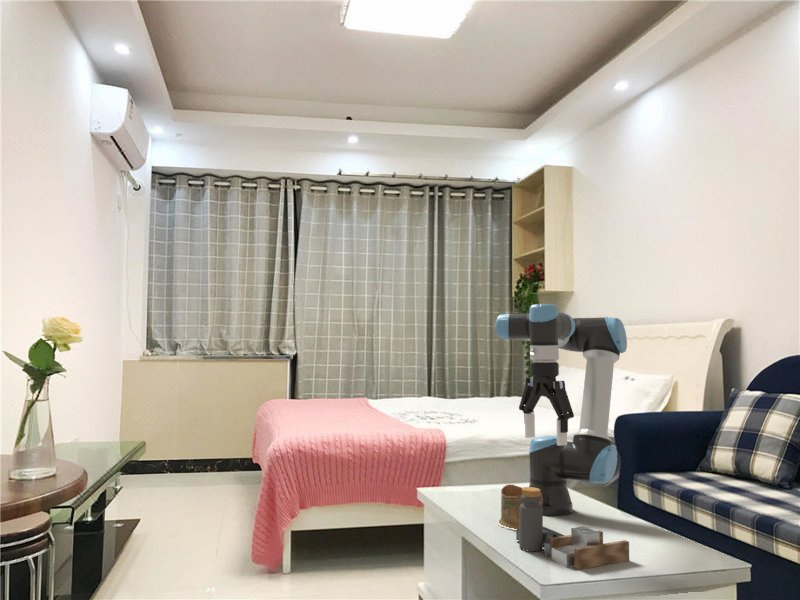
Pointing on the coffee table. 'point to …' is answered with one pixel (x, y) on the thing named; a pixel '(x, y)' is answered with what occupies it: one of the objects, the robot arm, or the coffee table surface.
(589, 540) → the grey stepped block
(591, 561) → the parallel wooden rails
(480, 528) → the coffee table surface
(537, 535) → the bottle
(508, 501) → the mug
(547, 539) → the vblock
